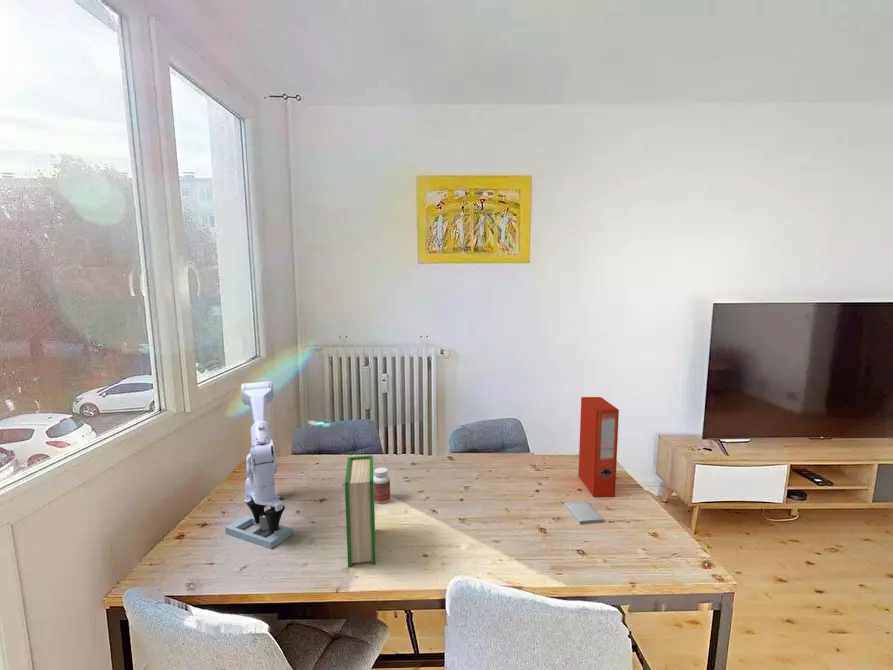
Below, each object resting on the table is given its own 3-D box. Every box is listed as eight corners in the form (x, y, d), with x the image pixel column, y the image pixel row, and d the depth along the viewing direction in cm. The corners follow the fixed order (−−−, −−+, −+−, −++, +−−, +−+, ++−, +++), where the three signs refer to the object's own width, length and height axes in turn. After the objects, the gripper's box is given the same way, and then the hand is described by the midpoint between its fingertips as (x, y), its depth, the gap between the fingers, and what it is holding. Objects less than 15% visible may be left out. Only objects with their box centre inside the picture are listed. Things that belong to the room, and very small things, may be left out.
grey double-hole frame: (225, 533, 136) (225, 527, 136) (248, 520, 144) (248, 514, 144) (270, 549, 128) (270, 542, 128) (292, 534, 136) (292, 528, 135)
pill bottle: (393, 501, 156) (392, 471, 155) (377, 506, 153) (376, 475, 151) (385, 494, 161) (385, 465, 160) (370, 498, 158) (369, 469, 156)
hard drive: (604, 519, 141) (586, 500, 153) (579, 521, 140) (563, 502, 152) (603, 524, 141) (586, 504, 153) (579, 526, 140) (563, 506, 152)
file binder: (598, 476, 175) (601, 396, 171) (615, 497, 157) (618, 409, 154) (578, 476, 174) (580, 397, 171) (593, 497, 157) (595, 409, 154)
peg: (257, 537, 134) (256, 515, 133) (269, 530, 137) (268, 509, 136) (266, 541, 132) (264, 518, 131) (277, 534, 135) (276, 513, 134)
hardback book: (375, 564, 121) (373, 480, 118) (347, 567, 120) (344, 482, 117) (375, 529, 138) (372, 455, 135) (350, 531, 137) (348, 457, 134)
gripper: (290, 484, 132) (293, 527, 133) (262, 472, 140) (265, 513, 141) (269, 493, 126) (272, 538, 127) (241, 481, 134) (244, 523, 136)
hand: (266, 526), depth 134 cm, fingers open, 7 cm apart
